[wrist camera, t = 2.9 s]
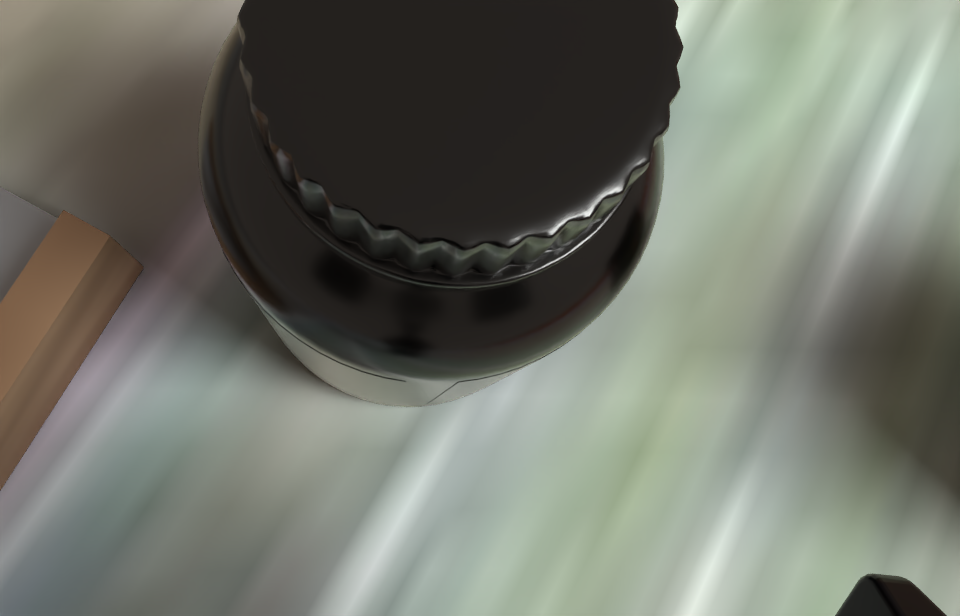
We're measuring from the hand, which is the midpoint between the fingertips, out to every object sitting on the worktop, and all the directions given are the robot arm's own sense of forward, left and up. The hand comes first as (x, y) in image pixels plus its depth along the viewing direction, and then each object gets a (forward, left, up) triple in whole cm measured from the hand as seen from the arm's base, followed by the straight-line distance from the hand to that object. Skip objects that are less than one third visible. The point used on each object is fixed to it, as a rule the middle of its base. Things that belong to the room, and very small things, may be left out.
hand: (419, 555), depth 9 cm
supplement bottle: (+2, -5, -12) cm, 13 cm away
